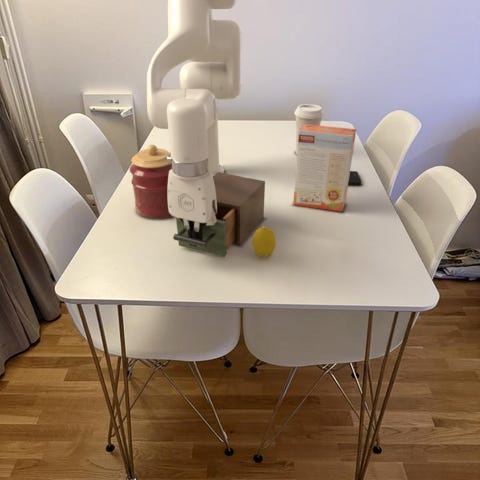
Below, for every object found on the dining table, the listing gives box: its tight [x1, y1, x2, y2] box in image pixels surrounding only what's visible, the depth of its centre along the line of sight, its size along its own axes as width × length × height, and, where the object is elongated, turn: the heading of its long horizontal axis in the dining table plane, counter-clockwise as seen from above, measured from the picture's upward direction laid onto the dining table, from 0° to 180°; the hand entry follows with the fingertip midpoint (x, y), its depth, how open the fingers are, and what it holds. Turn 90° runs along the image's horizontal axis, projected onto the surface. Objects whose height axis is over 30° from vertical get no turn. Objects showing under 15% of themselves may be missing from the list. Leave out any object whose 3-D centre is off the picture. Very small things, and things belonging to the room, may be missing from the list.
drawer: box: [172, 205, 237, 258], centre depth 110 cm, size 20×12×9 cm, turn 156°
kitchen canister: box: [129, 144, 173, 219], centre depth 123 cm, size 13×13×18 cm
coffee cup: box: [294, 103, 324, 155], centre depth 156 cm, size 10×10×15 cm
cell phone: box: [348, 170, 362, 186], centre depth 144 cm, size 9×18×1 cm, turn 87°
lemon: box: [251, 226, 277, 258], centre depth 107 cm, size 6×6×8 cm
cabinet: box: [213, 172, 266, 247], centre depth 118 cm, size 16×14×11 cm
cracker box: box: [293, 124, 357, 212], centre depth 124 cm, size 14×6×21 cm, turn 71°
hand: (195, 243), depth 106 cm, fingers closed
